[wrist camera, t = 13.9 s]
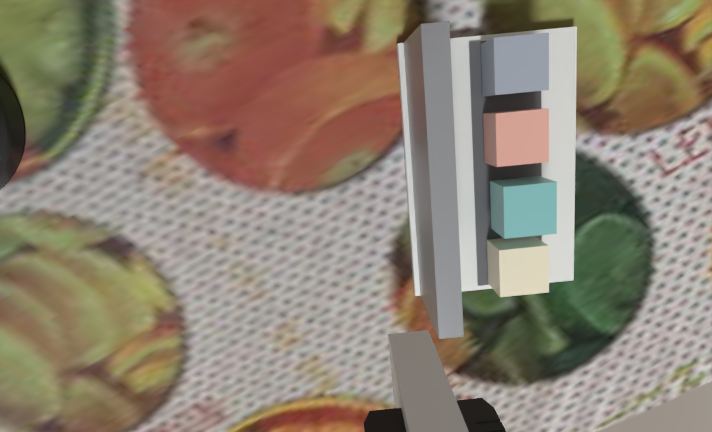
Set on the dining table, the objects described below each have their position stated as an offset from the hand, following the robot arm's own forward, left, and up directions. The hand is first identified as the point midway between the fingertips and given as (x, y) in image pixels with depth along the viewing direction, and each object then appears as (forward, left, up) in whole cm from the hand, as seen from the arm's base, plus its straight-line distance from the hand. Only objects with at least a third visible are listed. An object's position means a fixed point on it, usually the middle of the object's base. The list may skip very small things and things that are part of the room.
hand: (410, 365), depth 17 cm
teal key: (+13, 0, -25) cm, 29 cm away
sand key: (+13, -6, -27) cm, 31 cm away
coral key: (+13, +6, -27) cm, 31 cm away
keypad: (+12, +3, -28) cm, 31 cm away
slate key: (+13, +12, -27) cm, 32 cm away
